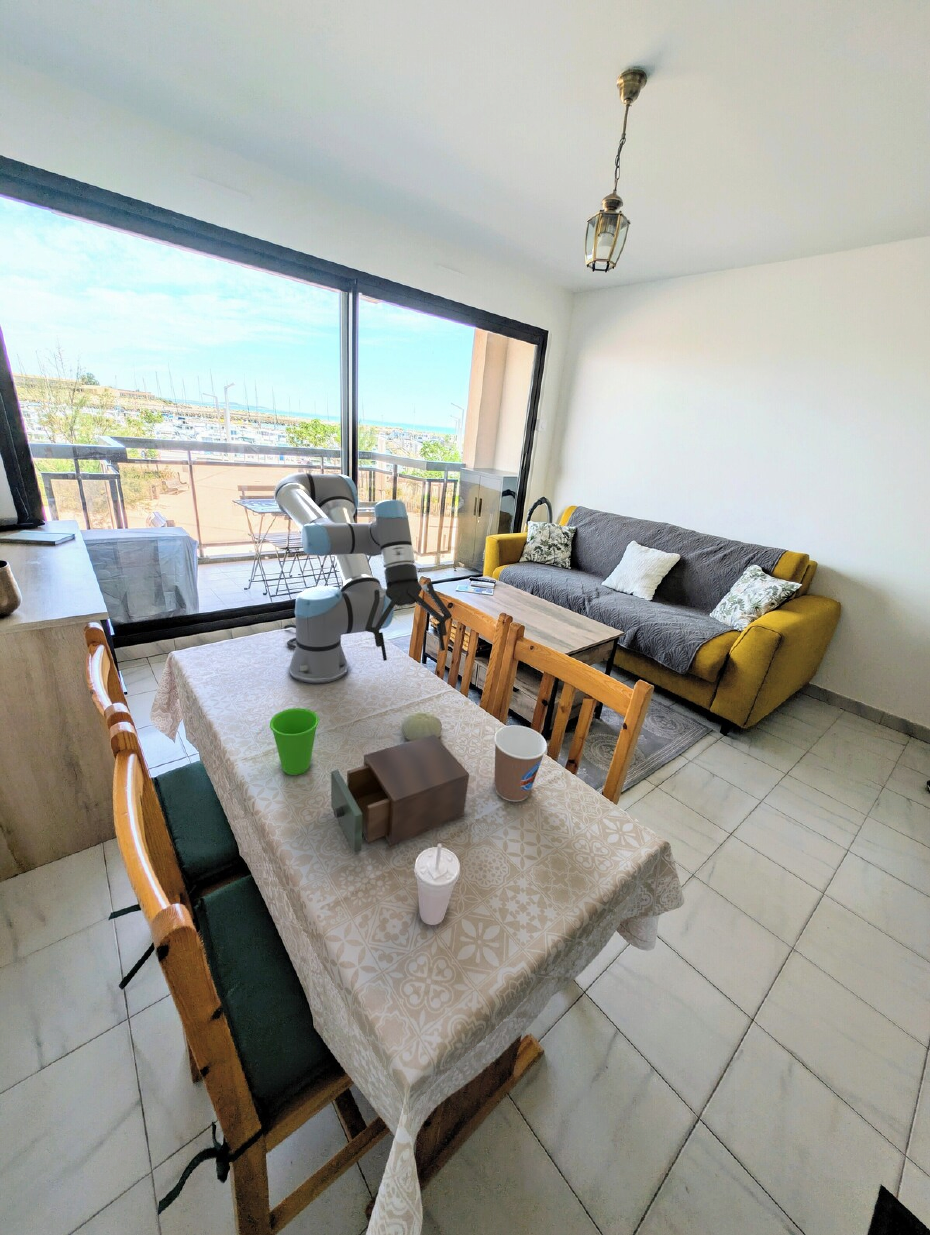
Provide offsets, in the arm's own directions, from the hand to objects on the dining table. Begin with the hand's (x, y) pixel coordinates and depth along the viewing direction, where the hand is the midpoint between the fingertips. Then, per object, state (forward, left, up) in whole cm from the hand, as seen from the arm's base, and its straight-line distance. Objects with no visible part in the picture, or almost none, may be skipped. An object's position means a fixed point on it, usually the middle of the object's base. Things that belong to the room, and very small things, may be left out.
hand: (414, 655), depth 110 cm
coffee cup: (+32, +7, -17) cm, 37 cm away
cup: (+7, -29, -17) cm, 34 cm away
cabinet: (+27, -13, -17) cm, 34 cm away
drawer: (+27, -21, -15) cm, 37 cm away
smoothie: (+47, -20, -17) cm, 54 cm away
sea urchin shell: (+8, -1, -17) cm, 18 cm away
